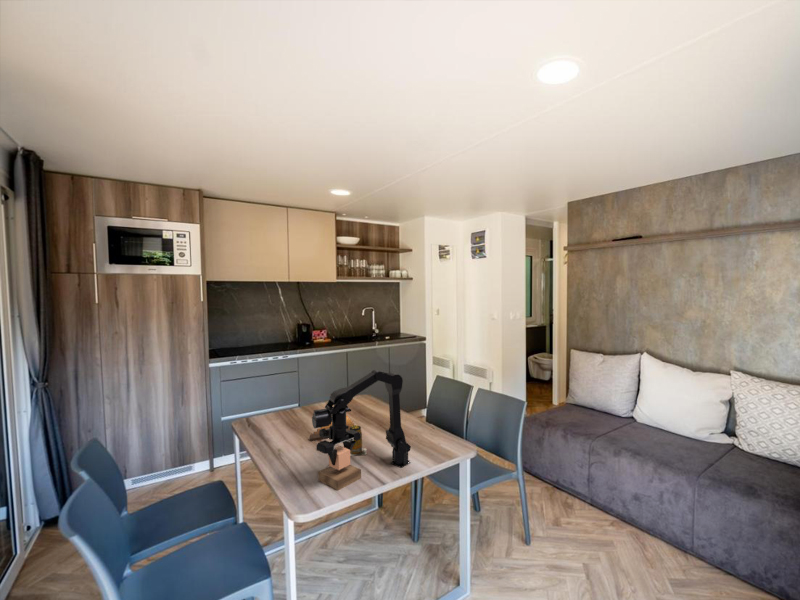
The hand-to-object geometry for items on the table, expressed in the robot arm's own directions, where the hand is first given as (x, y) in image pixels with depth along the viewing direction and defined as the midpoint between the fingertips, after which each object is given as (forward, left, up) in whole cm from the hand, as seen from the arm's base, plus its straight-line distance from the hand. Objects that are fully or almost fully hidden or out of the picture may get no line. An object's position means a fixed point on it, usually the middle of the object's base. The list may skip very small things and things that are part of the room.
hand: (339, 462), depth 147 cm
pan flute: (+46, -32, -8) cm, 57 cm away
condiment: (+13, -22, -7) cm, 26 cm away
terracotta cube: (0, 0, -1) cm, 1 cm away
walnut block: (0, 0, -7) cm, 7 cm away
